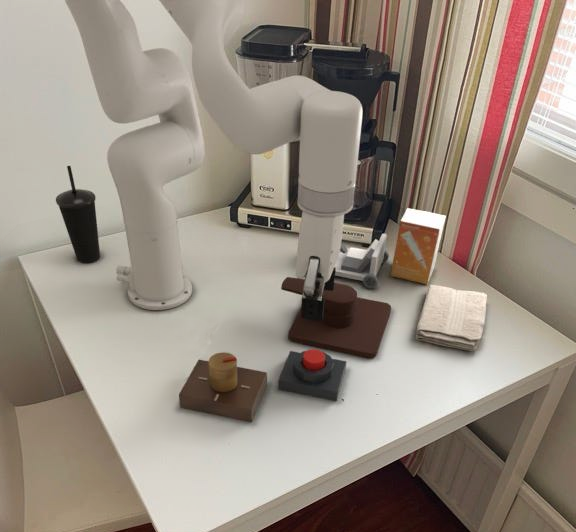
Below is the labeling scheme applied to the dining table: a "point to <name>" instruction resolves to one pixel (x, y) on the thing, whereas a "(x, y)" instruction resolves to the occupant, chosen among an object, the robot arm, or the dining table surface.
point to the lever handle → (341, 321)
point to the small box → (417, 245)
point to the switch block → (312, 377)
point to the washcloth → (452, 318)
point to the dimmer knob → (223, 372)
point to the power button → (313, 359)
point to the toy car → (362, 262)
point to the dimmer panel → (224, 393)
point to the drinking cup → (80, 221)
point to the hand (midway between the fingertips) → (317, 302)
